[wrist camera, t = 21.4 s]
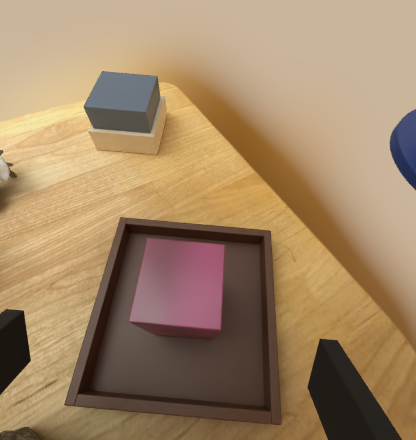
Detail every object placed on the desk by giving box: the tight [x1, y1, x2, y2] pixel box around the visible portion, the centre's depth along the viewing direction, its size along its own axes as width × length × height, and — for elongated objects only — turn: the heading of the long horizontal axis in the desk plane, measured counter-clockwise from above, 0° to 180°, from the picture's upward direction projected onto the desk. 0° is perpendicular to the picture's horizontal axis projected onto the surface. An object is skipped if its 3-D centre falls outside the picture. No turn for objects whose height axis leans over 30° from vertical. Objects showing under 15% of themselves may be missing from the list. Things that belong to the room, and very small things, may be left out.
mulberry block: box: [129, 238, 225, 340], centre depth 18 cm, size 5×5×9 cm
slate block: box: [84, 71, 160, 133], centre depth 30 cm, size 7×7×3 cm
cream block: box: [88, 96, 167, 155], centre depth 32 cm, size 8×8×3 cm
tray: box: [64, 217, 281, 425], centre depth 21 cm, size 15×15×3 cm
